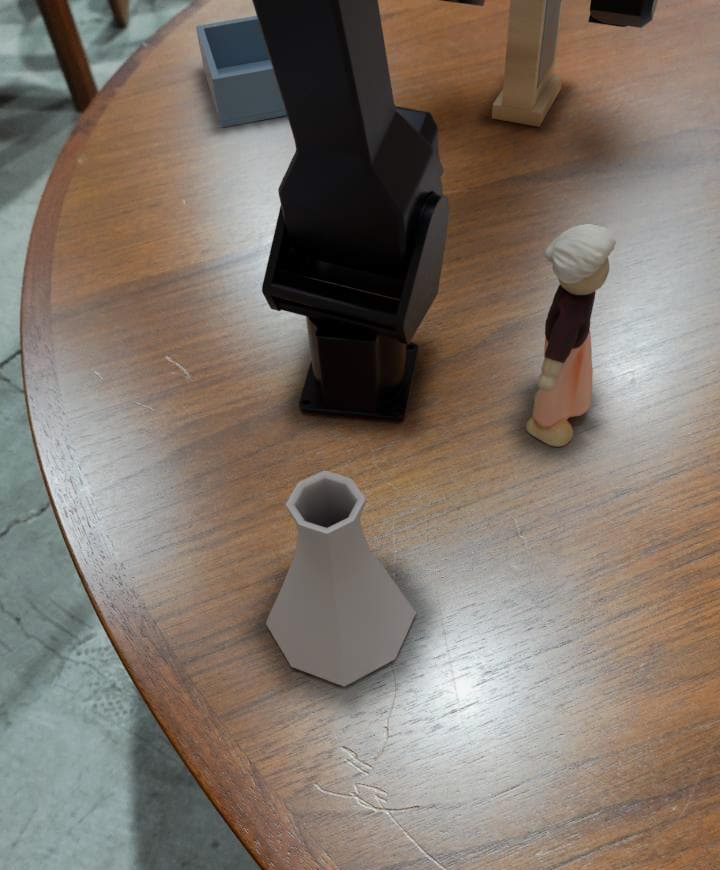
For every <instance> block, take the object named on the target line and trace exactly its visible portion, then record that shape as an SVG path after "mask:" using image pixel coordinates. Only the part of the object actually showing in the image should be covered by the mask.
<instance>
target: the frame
mask: <svg viewBox="0 0 720 870" xmlns="http://www.w3.org/2000/svg"><path fill="white" fill-rule="evenodd" d="M563 2H564V0H509V10H508V11H509V12H508V25H507V36H506V47H505V48H506V49H505V62H504V71H503V72H504V73H503V85H502V89H501V90H500V92H499V94H498V95H497V96H496V98H495V100H494V101H493V103H492V107H491V119H493V120H498V121H503V122H509V123H515V124H521V125H525V126H531V127H538V128H539V127H541V125H542V123H543V122H544V120H545V118H546V116H547V114H548V113H549V111H550V109H551V107H552V106H553V104H554V102H555V100H556V98H557V97H558V95H559V93H560V92H561V90H562V83H563V75H560V74H554V73H555V66H556V58H557V51H558V42H559V35H560V28H561V27H560V26H561V19H562V10H563V5H564V4H563Z"/></svg>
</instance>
